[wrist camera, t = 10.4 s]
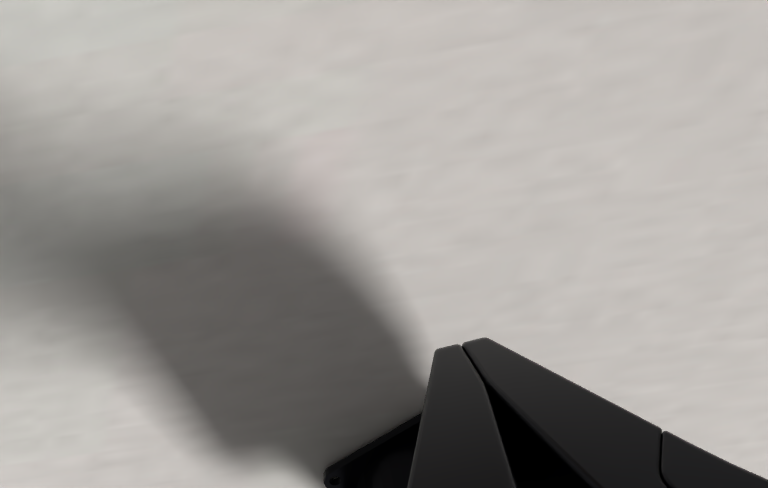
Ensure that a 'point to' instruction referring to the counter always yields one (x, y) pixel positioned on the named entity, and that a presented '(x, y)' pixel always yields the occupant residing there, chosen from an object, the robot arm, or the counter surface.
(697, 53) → the counter surface
